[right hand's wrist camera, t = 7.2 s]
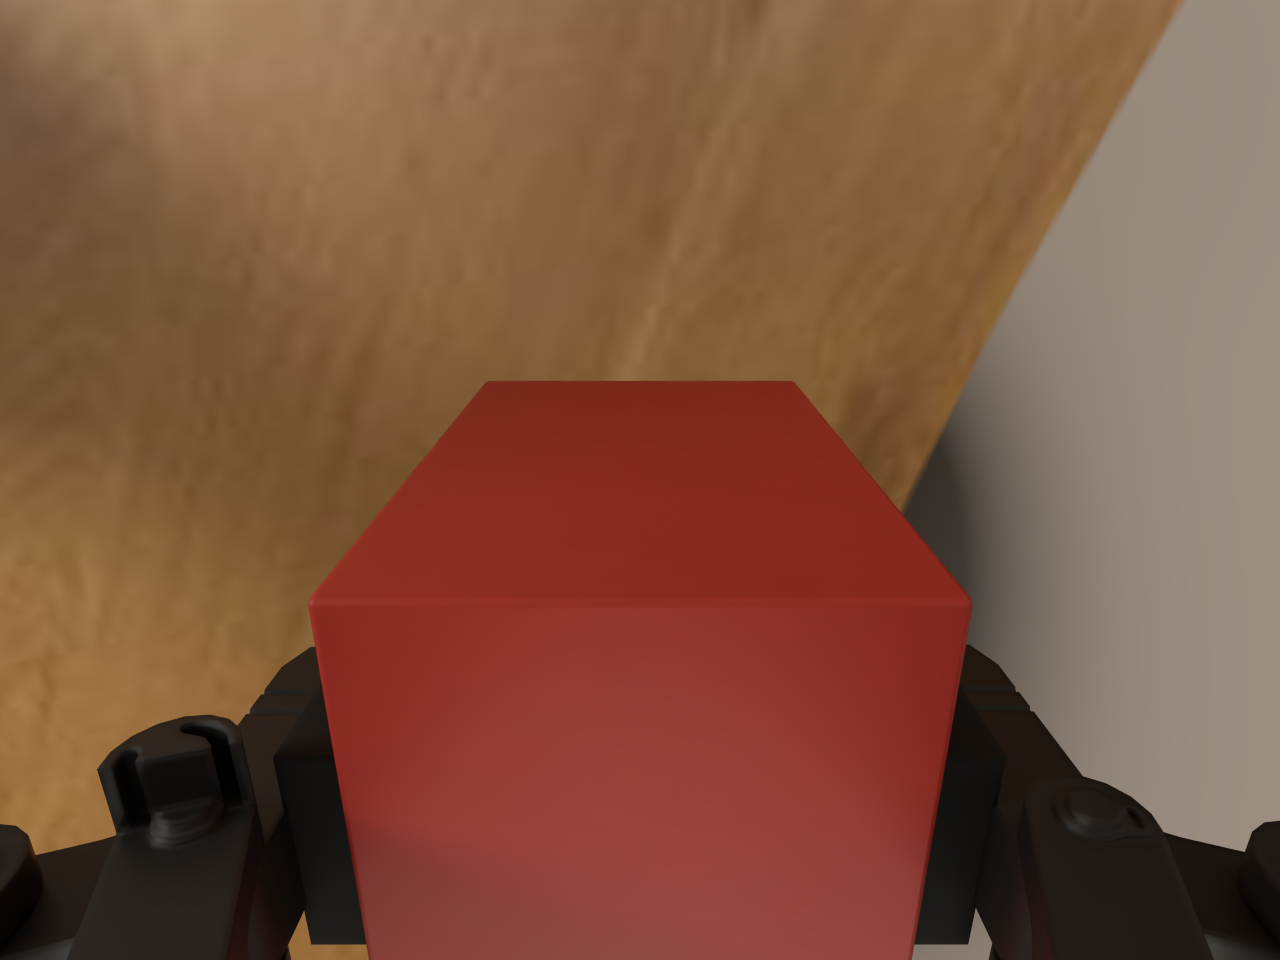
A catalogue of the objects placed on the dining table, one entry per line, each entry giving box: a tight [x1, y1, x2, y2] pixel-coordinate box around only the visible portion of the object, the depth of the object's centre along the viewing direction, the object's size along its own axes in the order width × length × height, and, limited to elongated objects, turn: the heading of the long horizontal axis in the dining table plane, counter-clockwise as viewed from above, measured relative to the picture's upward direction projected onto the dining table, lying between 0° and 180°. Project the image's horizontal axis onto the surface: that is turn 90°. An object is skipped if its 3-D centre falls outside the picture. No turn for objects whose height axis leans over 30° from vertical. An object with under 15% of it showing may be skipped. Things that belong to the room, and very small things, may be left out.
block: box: [309, 381, 972, 960], centre depth 12 cm, size 6×7×9 cm
